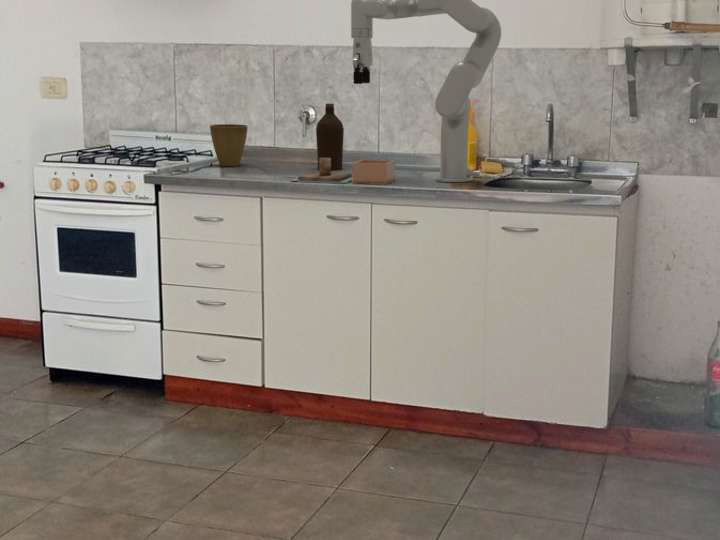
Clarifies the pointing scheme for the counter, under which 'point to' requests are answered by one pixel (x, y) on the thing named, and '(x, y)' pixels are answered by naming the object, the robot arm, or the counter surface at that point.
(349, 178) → the mat
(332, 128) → the olive oil
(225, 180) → the counter surface
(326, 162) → the lid
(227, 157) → the plant pot
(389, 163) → the pot
